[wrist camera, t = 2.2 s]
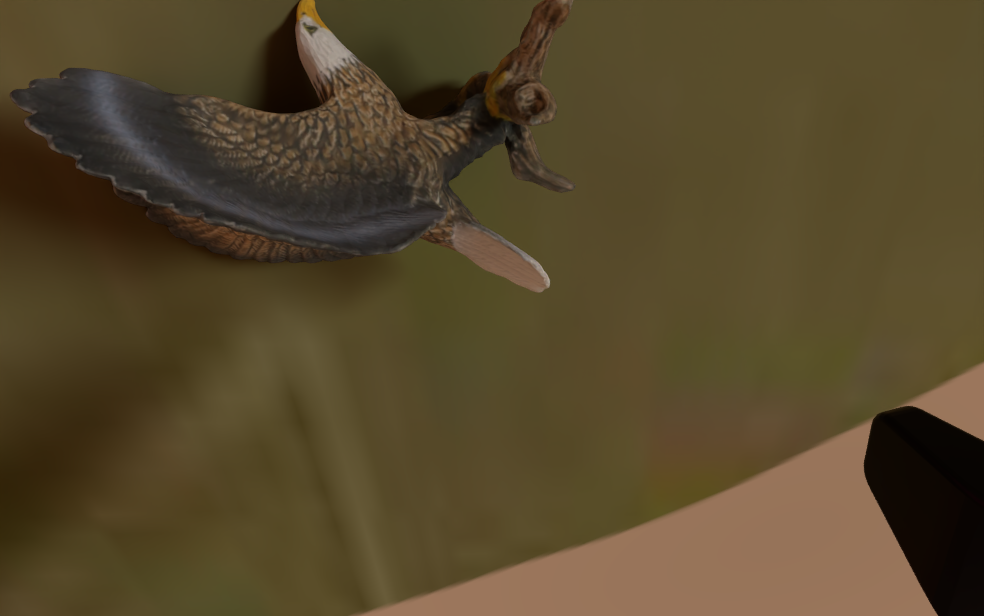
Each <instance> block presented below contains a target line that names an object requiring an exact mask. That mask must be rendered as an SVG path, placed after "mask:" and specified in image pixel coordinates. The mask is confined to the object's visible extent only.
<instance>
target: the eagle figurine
mask: <svg viewBox="0 0 984 616" xmlns="http://www.w3.org/2000/svg"><path fill="white" fill-rule="evenodd" d="M572 3H573V0H544V1H542V2H540V3H539V4H537V5H536V6H535V7H534V9H533V11H532V15H531V18H530V20H529V22H528V24H527V25H526V27H525V28H524V31H523V32H522V35H521V38H520V44H519V47H517V48H516V49H514V50H513V51H511V52H510V53H509V54H508V55H507V56H506V57H505V58H504V59H503V60H501V62H500V64H499V66H498V67H497V68H496V70H495V71H494V72H493V73H490V72H488V71H484V72H480V73H477V74H475V75H474V76H473V77H471V78H470V79H469V81H468V82H467V83H466V85H465V86H464V87H463V88H462V89H461V91H460V93H459V95H458V96H457V98H455V99H454V100H452V101H451V102H450V103H449V104H448V105H446V106H445V107H444V108H443V109H442V110H441V111H439V112H438V113H435V114H431V115H428V116H426V117H425V118H423V119H418V118H416V117H414V116H412V115H409V114H407V113H406V112H405V111H404V110H403V109H402V107H401V105H400V103H399V101H398V99H397V98H396V97H395V95H394V94H393V92H392V91H391V90H390V89H389V88H388V87H387V86H386V85H385V84H384V83H383V82H382V80H381V79H380V78H379V77H378V75H377V74H376V73H375V72H374V71H372V70H371V69H370V68H368V67H367V66H366V65H364V64H363V63H362V62H361V61H360V60H359V59H358V58H357V57H356V56H355V55H354V54H353V53H351V52H350V51H349V50H348V49H347V48H346V47H345V46H344V45H342V44H341V43H340V41H339V40H338V39H337V38H336V37H335V36H334V35H333V33H332V32H331V31H330V30H329V29H328V28H327V27H326V26H325V24H324V23H323V22H322V21H321V19H320V17H319V16H318V14H317V11H316V9H315V1H314V0H301V1H300V2H299V5H298V7H297V13H296V16H297V22H296V27H295V33H296V42H297V48H298V52H299V57H300V60H301V62H302V65H303V67H304V69H305V71H306V72H307V74H308V76H309V79H310V81H311V83H312V85H313V87H314V88H315V90H316V92H317V96H318V99H319V101H320V104H321V106H320V107H317V108H314V109H310V110H306V111H303V112H298V113H286V114H277V113H271V112H264V111H261V110H256V109H252V108H249V107H246V106H243V105H240V104H236V103H234V102H231V101H228V100H224V99H220V98H216V97H212V96H206V95H178V94H171V93H166V92H163V91H161V90H159V89H158V88H156V87H154V86H151V85H149V84H147V83H145V82H141V81H138V80H135V79H132V78H128V77H124V76H121V75H117V74H113V73H109V72H104V71H98V70H91V69H86V68H68V69H66V70H64V71H62V72H61V73H60V74H59V75H60V78H61V79H59V78H47V79H35V80H33V81H31V82H30V83H29V87H30V88H28V89H16V90H13V91H12V92H11V93H10V97H11V99H12V101H13V102H14V103H15V104H16V105H17V106H18V107H19V108H21V109H22V110H24V111H26V112H29V113H31V114H32V115H31V116H29V117H26V119H25V122H24V124H25V126H26V127H27V128H29V129H30V130H31V131H33V132H34V133H36V134H38V135H40V136H42V137H44V138H45V139H46V140H47V142H48V146H49V148H50V149H51V150H53V151H55V152H57V153H59V154H62V155H65V156H68V157H73V158H74V159H75V160H76V163H75V165H76V168H77V169H79V170H81V171H83V172H85V173H87V174H89V175H92V176H95V177H98V178H102V179H107V180H110V181H111V183H112V185H113V191H114V192H115V194H116V195H117V196H118V197H120V198H121V199H123V200H125V201H127V202H129V203H132V204H135V205H140V206H145V207H147V208H148V210H147V212H146V216H147V217H148V218H149V219H150V220H151V221H153V222H156V223H160V224H164V225H167V226H168V227H169V228H168V229H169V231H170V232H171V233H172V234H173V235H174V236H175V237H177V238H182V239H185V240H187V241H188V242H189V243H190V244H193V245H196V246H204V247H206V248H208V249H209V250H210V251H211V252H213V253H217V254H227V255H230V256H231V257H232V258H234V259H240V260H242V259H255V260H257V261H260V262H266V261H268V262H270V263H277V262H283V261H285V260H287V261H289V262H291V263H298V262H308V263H316V262H319V261H322V260H325V261H336V260H341V259H351V258H353V257H355V256H356V257H359V256H368V255H377V254H391V253H395V252H398V251H400V250H402V249H404V248H406V247H407V246H409V245H410V244H412V243H413V242H414V241H416V240H417V239H419V238H421V239H424V240H427V241H429V242H431V243H435V244H439V245H441V246H443V247H447V248H450V249H453V250H455V251H458V252H460V253H462V254H464V255H465V256H467V257H468V258H469V259H470V260H472V261H473V262H474V263H476V264H477V265H478V266H480V267H481V268H483V269H484V270H486V271H489V272H492V273H494V274H496V275H498V276H503V277H505V278H507V279H508V280H510V281H512V282H513V283H515V284H517V285H520V286H522V287H525V288H527V289H529V290H531V291H534V292H542V291H543V290H544V289H545V288H549V286H550V279H549V278H548V275H547V274H546V273H545V271H544V270H543V268H542V266H541V265H540V264H539V263H538V262H537V261H536V260H535V259H533V258H532V257H530V256H529V255H528V254H526V253H525V252H523V251H522V250H520V249H519V248H518V247H516V246H515V245H513V244H512V243H510V242H508V241H507V240H505V239H504V238H503V237H502V236H500V235H498V234H497V233H495V232H493V231H491V230H490V229H488V228H486V227H484V226H482V225H481V224H480V223H479V221H478V220H477V219H476V218H475V217H474V216H473V215H472V213H471V212H470V211H469V210H468V208H467V207H466V206H465V205H464V204H463V203H462V202H461V200H460V199H459V198H458V197H457V195H456V194H455V193H454V192H453V191H452V190H451V188H450V187H449V185H448V182H449V181H450V180H452V179H453V178H455V177H457V176H458V175H459V173H460V172H461V170H462V169H463V168H465V167H466V166H467V165H469V164H470V163H472V162H473V160H474V159H476V158H479V157H482V156H483V154H484V153H485V152H487V151H489V150H490V149H491V148H492V147H493V146H496V145H499V144H503V143H504V142H505V146H506V148H507V150H508V154H509V159H510V164H511V169H512V172H513V174H514V175H515V177H516V178H517V179H519V180H525V181H532V182H534V183H536V184H538V185H541V186H543V187H545V188H547V189H549V190H553V191H557V192H561V193H562V192H567V191H572V190H573V189H574V188H575V186H576V185H575V183H573V182H572V181H570V180H569V179H567V178H565V177H563V176H561V175H559V174H557V173H555V172H553V171H551V170H550V169H548V168H547V167H546V166H545V164H544V163H543V161H542V159H541V157H540V155H539V152H538V150H537V147H536V144H535V141H534V138H533V136H532V133H531V131H530V129H529V127H528V125H530V126H533V125H540V124H545V123H549V122H551V121H552V120H554V118H555V115H556V112H557V105H556V101H555V99H554V97H553V95H552V93H551V92H550V91H549V90H548V89H547V87H546V86H544V85H543V84H541V76H542V71H543V67H544V64H545V61H546V58H547V55H548V51H549V47H550V44H551V41H552V38H553V35H554V33H555V31H556V29H557V28H558V27H560V26H561V25H562V24H563V23H564V22H565V21H566V19H567V17H568V16H569V14H570V10H571V7H572Z"/></svg>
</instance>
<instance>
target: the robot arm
mask: <svg viewBox="0 0 984 616" xmlns="http://www.w3.org/2000/svg"><path fill="white" fill-rule="evenodd" d="M864 473H865V477H866V480H867V483H868V485H869V487H870V489H871V491H872V493H873V495H874V497H875V499H876V500H877V503H878V505H879V507H880V508H881V510H882V512H883V514H884V516H885V518H886V520H887V522H888V524H889V526H890V528H891V529H892V532H893V533H894V535H895V537H896V539H897V541H898V543H899V545H900V547H901V549H902V551H903V553H904V554H905V557H906V559H907V560H908V562H909V564H910V566H911V568H912V570H913V572H914V574H915V576H916V577H917V580H918V582H919V583H920V585H921V587H922V589H923V591H924V593H925V594H926V596H927V598H928V600H929V602H930V603H931V605H932V607H933V608H934V610H935V611H936V613H937V615H938V616H984V441H983V440H981V439H979V438H976V437H975V436H973V435H971V434H969V433H967V432H965V431H963V430H961V429H959V428H957V427H955V426H953V425H951V424H949V423H947V422H945V421H943V420H941V419H939V418H937V417H935V416H933V415H931V414H929V413H927V412H925V411H923V410H922V409H919V408H916V407H913V406H904V407H900V408H896V409H892V410H889V411H885V412H881V413H879V414H877V415H876V417H875V418H874V419H873V422H872V425H871V430H870V435H869V440H868V445H867V450H866V455H865V460H864Z"/></svg>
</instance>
